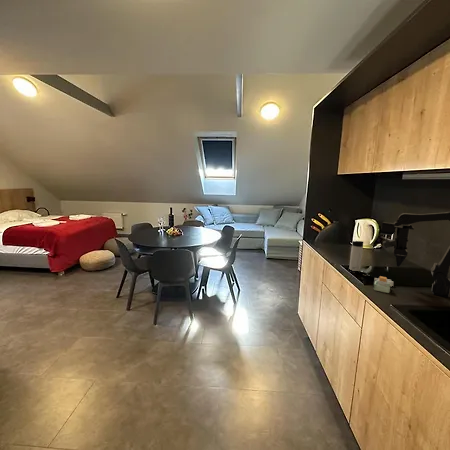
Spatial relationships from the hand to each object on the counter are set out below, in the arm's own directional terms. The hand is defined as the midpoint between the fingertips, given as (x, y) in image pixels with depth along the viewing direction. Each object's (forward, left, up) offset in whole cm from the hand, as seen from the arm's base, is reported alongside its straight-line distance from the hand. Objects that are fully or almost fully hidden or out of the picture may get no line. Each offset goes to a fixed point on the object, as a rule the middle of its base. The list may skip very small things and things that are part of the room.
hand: (397, 264), depth 147 cm
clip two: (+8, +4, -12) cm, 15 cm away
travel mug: (+22, -12, -12) cm, 28 cm away
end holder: (+6, +12, -12) cm, 18 cm away
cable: (+5, +3, -12) cm, 14 cm away
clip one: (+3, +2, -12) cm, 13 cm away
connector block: (+6, +12, -12) cm, 18 cm away
